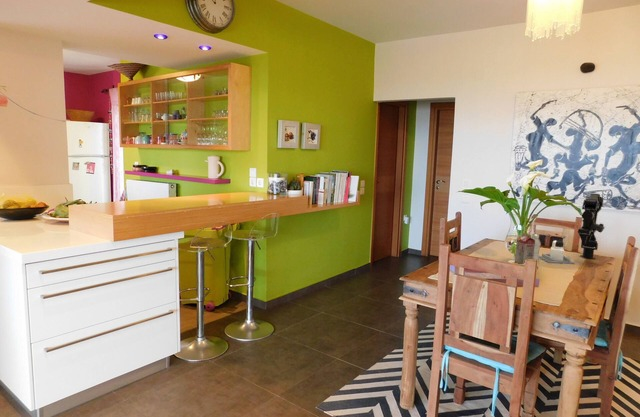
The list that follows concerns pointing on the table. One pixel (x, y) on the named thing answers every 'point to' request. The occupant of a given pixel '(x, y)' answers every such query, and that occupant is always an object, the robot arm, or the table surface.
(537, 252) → the plastic bottle
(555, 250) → the medicine bottle
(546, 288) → the table surface
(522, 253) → the juice carton
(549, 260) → the bottle holder
